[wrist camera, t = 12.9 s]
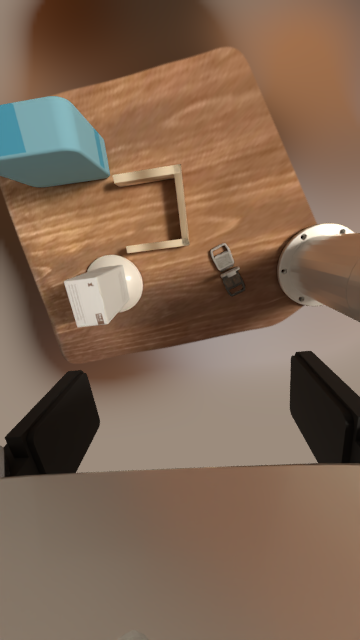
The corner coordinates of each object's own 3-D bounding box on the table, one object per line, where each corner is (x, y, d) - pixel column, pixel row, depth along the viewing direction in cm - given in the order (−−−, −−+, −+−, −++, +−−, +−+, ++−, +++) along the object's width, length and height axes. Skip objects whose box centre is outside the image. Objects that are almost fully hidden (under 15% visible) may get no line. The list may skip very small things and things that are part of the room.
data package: (107, 142, 34) (63, 92, 22) (113, 177, 35) (75, 148, 24) (28, 154, 35) (-52, 112, 23) (37, 188, 36) (-34, 165, 25)
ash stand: (181, 169, 34) (180, 164, 32) (189, 244, 37) (189, 245, 35) (118, 179, 35) (112, 175, 33) (131, 252, 38) (127, 253, 36)
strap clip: (208, 250, 38) (209, 251, 34) (225, 241, 37) (229, 241, 33) (229, 296, 40) (233, 303, 36) (246, 288, 40) (252, 294, 36)
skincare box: (98, 267, 39) (58, 279, 27) (125, 263, 38) (96, 274, 27) (107, 303, 41) (73, 328, 29) (132, 300, 40) (108, 325, 29)
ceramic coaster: (137, 251, 38) (136, 251, 37) (147, 307, 41) (146, 309, 40) (81, 258, 39) (78, 259, 38) (94, 313, 42) (93, 315, 41)
